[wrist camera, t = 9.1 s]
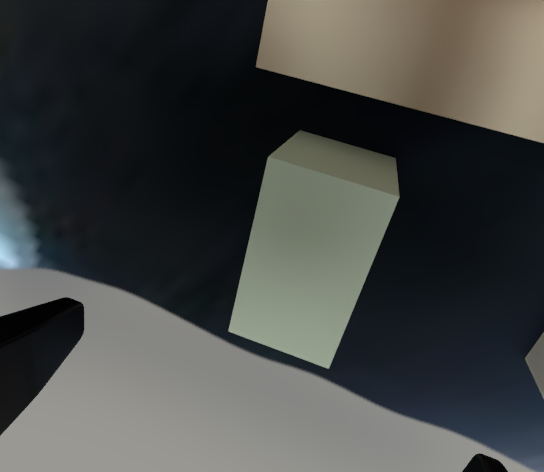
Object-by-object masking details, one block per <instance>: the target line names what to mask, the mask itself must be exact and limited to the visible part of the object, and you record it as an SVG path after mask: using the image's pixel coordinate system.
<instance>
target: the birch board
mask: <svg viewBox="0 0 544 472" xmlns="http://www.w3.org/2000/svg"><path fill="white" fill-rule="evenodd" d="M256 67H257V68H261V69H265V70H269V71H272V72H276V73H280V74H284V75H288V76H291V77H295V78H299V79H303V80H306V81H310V82H314V83H318V84H322V85H325V86H329V87H333V88H337V89H341V90H344V91H348V92H352V93H356V94H359V95H363V96H367V97H371V98H375V99H378V100H382V101H386V102H390V103H394V104H397V105H401V106H405V107H409V108H413V109H416V110H420V111H424V112H428V113H431V114H435V115H439V116H443V117H447V118H450V119H454V120H458V121H462V122H466V123H469V124H473V125H477V126H481V127H484V128H488V129H492V130H496V131H500V132H503V133H507V134H511V135H515V136H519V137H522V138H526V139H530V140H534V141H537V142H541V143H544V0H268V3H267V9H266V14H265V19H264V25H263V30H262V36H261V41H260V47H259V52H258V57H257V63H256Z"/></svg>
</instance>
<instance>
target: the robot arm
mask: <svg viewBox="0 0 544 472" xmlns="http://www.w3.org/2000/svg"><path fill="white" fill-rule="evenodd" d="M83 332H84V306H83V304H82V303H81V302H78V301H76V300H73V299H71V298H61V299H58V300H54V301H51V302H48V303H44V304H41V305H37V306H34V307H31V308H27V309H24V310H21V311H18V312H14V313H11V314H8V315H4V316H1V317H0V435H1V434H2V433H3V432H4V431H5V430H6V429H7V428H8V427H9V425H10V424H11V423H12V422H13V421H14V420H15V419H16V418H17V417H18V416H19V415H20V413H21V412H22V411H23V410H24V409H25V408H26V407H27V406H28V405H29V404H30V402H31V401H32V400H33V399H34V398H35V397H36V396H37V395H38V394H39V392H40V391H41V390H42V389H43V387H44V386H45V385H46V383H47V382H48V381H49V380H50V378H51V377H52V376H53V374H54V373H55V371H56V370H57V369H58V368H59V366H60V365H61V364H62V362H63V361H64V360H65V359H66V357H67V356H68V355H69V353H70V352H71V351H72V349H73V348H74V347H75V345H76V344H77V343H78V341H79V340H80V339H81V337H82V335H83ZM463 472H508V471H507V470H506V469H505V467H504V466H503V464H502V463H501V462H499V461H498V460H496V459H493V458H491V457H488V456H486V455H483V454H476V455H475V456H474V457H473V458H472V459H471V461H470V462H469V463H468V465H467V466H466V467H465V469H464V470H463Z"/></svg>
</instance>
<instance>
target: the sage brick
mask: <svg viewBox="0 0 544 472" xmlns="http://www.w3.org/2000/svg"><path fill="white" fill-rule="evenodd" d="M399 197H400V196H399V186H398V176H397V167H396V158H394V157H390V156H387V155H383V154H380V153H376V152H373V151H370V150H366V149H363V148H359V147H356V146H352V145H349V144H346V143H342V142H339V141H335V140H332V139H328V138H325V137H322V136H318V135H315V134H311V133H308V132H304V131H301V130H300V131H298V132H297V133H296V134H295V135H294V136H292V137H291V138H290V139H289V140H288V141H286V142H285V143H284V144H283V145H282V146H280V147H279V148H278V149H277V150H276V151H274V152H273V153H272V154H271V155H270V156H268V159H267V164H266V168H265V173H264V177H263V181H262V186H261V190H260V195H259V199H258V203H257V208H256V212H255V216H254V221H253V225H252V230H251V234H250V238H249V243H248V247H247V252H246V256H245V260H244V265H243V269H242V274H241V278H240V282H239V287H238V291H237V296H236V300H235V304H234V309H233V313H232V318H231V322H230V326H229V332H232V333H234V334H237V335H240V336H242V337H245V338H248V339H250V340H253V341H256V342H258V343H261V344H264V345H266V346H269V347H272V348H274V349H277V350H280V351H282V352H285V353H288V354H290V355H293V356H296V357H298V358H301V359H304V360H306V361H309V362H312V363H314V364H317V365H320V366H322V367H325V368H328V369H329V367H330V364H331V362H332V360H333V357H334V355H335V352H336V350H337V347H338V345H339V343H340V340H341V338H342V335H343V333H344V330H345V328H346V326H347V323H348V321H349V318H350V316H351V314H352V311H353V309H354V306H355V304H356V301H357V299H358V297H359V294H360V292H361V289H362V287H363V284H364V282H365V280H366V277H367V275H368V272H369V270H370V267H371V265H372V263H373V260H374V258H375V255H376V253H377V250H378V248H379V246H380V243H381V241H382V238H383V236H384V233H385V231H386V229H387V226H388V224H389V221H390V219H391V216H392V214H393V212H394V209H395V207H396V204H397V202H398V199H399Z"/></svg>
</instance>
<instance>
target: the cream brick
mask: <svg viewBox="0 0 544 472" xmlns="http://www.w3.org/2000/svg"><path fill="white" fill-rule="evenodd" d="M525 360H526V363H527V365H528V367H529V369H530V371H531V373H532V375H533V377H534V379H535V382H536V384H537V386H538V388H539V390H540V392H541V394H542V396H543V399H544V332H543V334H542V335H541V337H540V338H539V339H538V341H537V342H536V344H535V345H534V346H533V348H532V349H531V351H530V352H529V353H528V355H527V356H526V358H525Z"/></svg>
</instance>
